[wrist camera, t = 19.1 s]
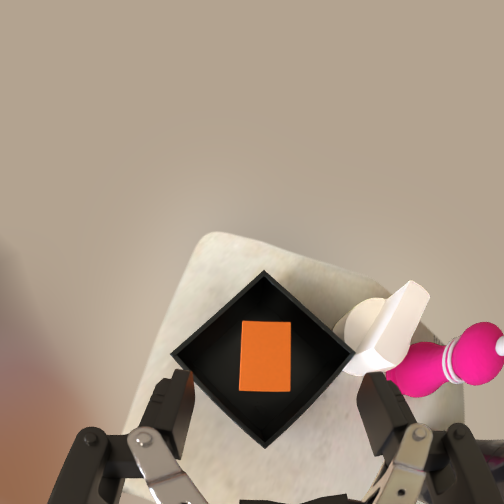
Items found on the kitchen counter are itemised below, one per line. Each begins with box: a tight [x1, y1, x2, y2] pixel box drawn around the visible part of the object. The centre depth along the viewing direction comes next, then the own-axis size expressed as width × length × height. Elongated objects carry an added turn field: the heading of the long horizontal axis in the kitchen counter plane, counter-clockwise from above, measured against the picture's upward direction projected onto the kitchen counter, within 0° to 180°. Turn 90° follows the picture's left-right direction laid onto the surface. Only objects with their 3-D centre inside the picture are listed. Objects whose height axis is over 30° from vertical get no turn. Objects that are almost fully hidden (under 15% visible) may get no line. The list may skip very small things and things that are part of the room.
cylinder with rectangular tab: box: [332, 280, 430, 376], centre depth 28 cm, size 9×9×12 cm
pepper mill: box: [386, 322, 504, 398], centre depth 22 cm, size 7×7×20 cm
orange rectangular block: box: [239, 321, 291, 392], centre depth 27 cm, size 4×6×10 cm
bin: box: [170, 270, 356, 449], centre depth 29 cm, size 13×13×9 cm
